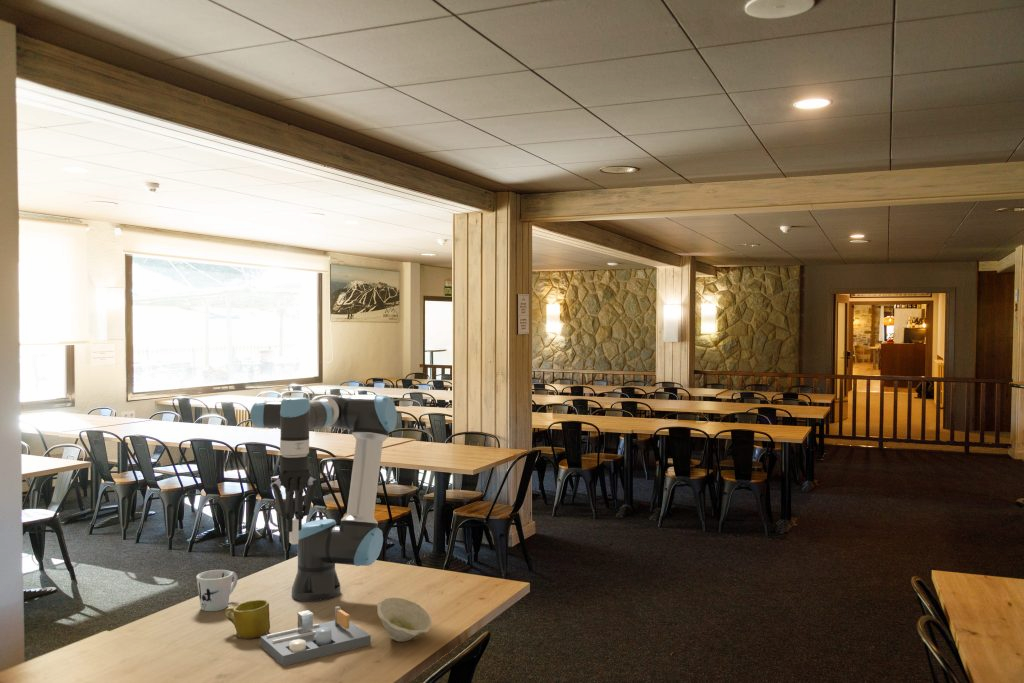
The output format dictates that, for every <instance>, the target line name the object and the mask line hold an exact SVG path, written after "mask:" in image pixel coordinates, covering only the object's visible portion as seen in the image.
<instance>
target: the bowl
mask: <svg viewBox="0 0 1024 683" xmlns="http://www.w3.org/2000/svg"><path fill="white" fill-rule="evenodd" d="M376 609H377V615H378V617H379V619H380V620H381V623H382V625H383V626H384V628H385V631H386V634H387V635H388V636H389V638H390V639H392V640H394V641H396V642H400V643H401V642H407V641H410V640H412V639H414V638H415V637H416V636H418V635H420V634H421V635H422V634H427V633H428V632H429V630H430V628H431V624H432V618H431V616H430V614H429V613H428V612H427V611H426V610H425V608H423V607H422V606H421V605H420V604H418V603H416V602H414V601H412V600H408V599H406V598H400V597H388V598H385V599H383V600H382V601H380V602H379V603H378V604H377V606H376Z"/></svg>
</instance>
